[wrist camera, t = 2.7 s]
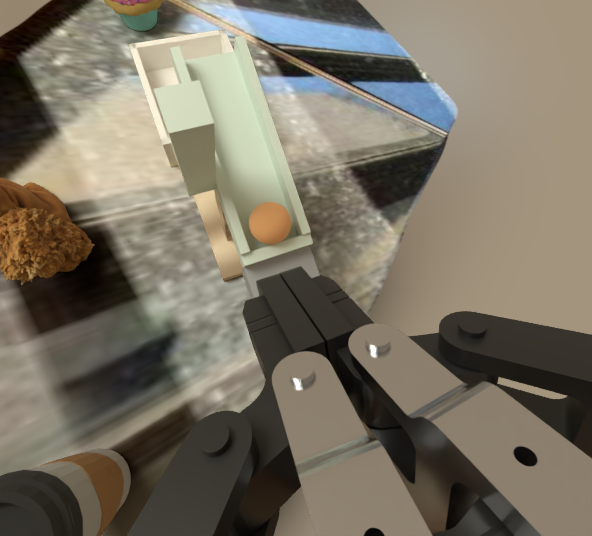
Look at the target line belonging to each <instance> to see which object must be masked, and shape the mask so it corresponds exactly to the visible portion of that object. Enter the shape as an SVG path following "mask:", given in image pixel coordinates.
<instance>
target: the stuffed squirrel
mask: <svg viewBox="0 0 592 536" xmlns="http://www.w3.org/2000/svg"><path fill="white" fill-rule="evenodd" d="M94 245H95V244H91V240H90V239H89V238H88V236H87V234H86V233H85V232H84V231H82V230H81V229H79V227H77V226H76V225H75V224H73V223H72V222H71V219H70V217H69V215H68V213H67V211H66V208H65V205H64V204H63V203H62V202H61V201H60V200H59V199H58V198H57V197H56V196H55V195H53V194H51V193H50V192H49V191H48V190H46V189H44V188H43V187H41V186H39V185H37V184H35V183H27V184H26V185H24V186H21V185H19V184H16V183H14V182H12V181H9V180H7V179H3V178H0V269H1V270H2V271H3V272H2V271H1V272H2V273H4V277H5V278H7V281H8V280H9V279H11V280H15V279H20V280H21V285H23V283H24V282H25V280H26V281H29V280H30V281H31V282H32V279H33V278H34V276H35V277H37V276H40V277H44V278H45V277H46V278H48V277H52V276H53V275H55V273H56V272H57V271H61V272H63V271H64V272H68V271H72V270H74V269H75V268H76V267H77V266H78V265H79V263H80V262H81V261H84V260H86V259H87V257H88V255H89V254H90V253H91V249H92V248H93V246H94Z"/></svg>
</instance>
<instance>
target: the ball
mask: <svg viewBox="0 0 592 536" xmlns="http://www.w3.org/2000/svg"><path fill="white" fill-rule="evenodd" d="M249 228H250V231H251V233H252V235H253V236H254V237H255V238H256V239H257V240H258V241H260V242H261V243H264V244H277V243H279V242H281V241H283V240H284V239H285V238H286V237H287V235H288V234H289V232H290V229H291V218H290V215H289V213H288V211H287V210H286V209H285V208H284V207H283V206H282V205H280V204H278V203H275V202H265V203H262V204H260V205H258V206H257V207H256V208H255V209H254V210H253V211H252V213H251V215H250V218H249Z"/></svg>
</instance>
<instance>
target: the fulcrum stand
mask: <svg viewBox="0 0 592 536" xmlns="http://www.w3.org/2000/svg"><path fill="white" fill-rule="evenodd" d="M194 198H195V201H196V204H197V207H198V209H199V212H200V215H201V218H202V221H203V224H204V226H205V229H206V232H207V235H208V238H209V241H210V243H211V246H212V249H213V252H214V255H215V258H216V261H217V263H218V266H219V269H220V272H221V275H222V278H223V280H224V281H226V280H229V279H232V278H235V277H238V276H241V275H243V274H242V271H241V269H242V268H243V267H242V264H241V261H240V259H239V256H238V253H237V250H236V247H235V244H234V241H233V238H232V235H231V233H230V230H229V227H228V224H227V221H226V218H225V215H224V212H223V209H222V206H221V204H220V201H219V198H218V195H217V192H216V189H215V190H211V191H207V192H203V193H200V194H196V195H194Z"/></svg>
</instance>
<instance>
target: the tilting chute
mask: <svg viewBox="0 0 592 536" xmlns="http://www.w3.org/2000/svg"><path fill="white" fill-rule="evenodd" d="M170 52H171V56H172V61H173V66H174V70H175V73H176V76H177V79H178V82H179V84H176V85H171V86H166V87H160V88H155V89H154V92H155V95H156V98H157V101H158V104H159V107H160V110H161V113H162V116H163V119H164V122H165V125H166V128H167V131H168V134H169V137H170V140H171V143H172V146H173V149H174V152H175V155H176V158H177V161H178V164H179V167H180V170H181V173H182V176H183V179H184V182H185V185H186V188H187V191H188V194H189V196H192V195H196V194H200V193H203V192H207V191H211V190H215V189H216V192H217V195H218V198H219V201H220V204H221V206H222V209H223V212H224V215H225V218H226V221H227V224H228V227H229V230H230V233H231V235H232V238H233V241H234V244H235V247H236V250H237V253H238V256H239V259H240V261H241V264H242V267H243V268H242V269H241V271H242V274H243V277H244V279H245V282H246V285H247V288H248V291H249V294H250V297H251V299H253V298H256V297H258V296H259V292H258V289H257V285H256V281H257V280H260V279H263V278H266V277H269V276H272V275H275V274H279V273H281V272H284V271H287V270H290V269H293V268H296V267H299V266H301V267H302V268H303V269H304V270H305V271H306V272H307V273H308V275H309V276H310V277H311V278H314V277H316V276H319V275H320V274H319V271H318V268H317V266H316V263H315V260H314V257H313V254H312V251H311V248H310V245H311V244H313V241H312V238H311V235H310V232H311V231H310V228H309V225H308V222H307V219H306V216H305V213H304V210H303V207H302V204H301V201H300V198H299V195H298V193H297V190H296V187H295V184H294V181H293V178H292V175H291V172H290V169H289V166H288V163H287V160H286V157H285V155H284V152H283V149H282V146H281V143H280V140H279V137H278V134H277V131H276V128H275V125H274V122H273V119H272V116H271V114H270V111H269V108H268V105H267V102H266V99H265V96H264V93H263V90H262V87H261V84H260V81H259V78H258V75H257V73H256V70H255V67H254V64H253V61H252V58H251V55H250V52H249V49H248V46H247V43H246V40H245V37H244V36H238V37H235V46H234V52H228V53H223V54H217V55H211V56H205V57H200V58H194V59H188V60H184V58H183V55H182V52H181V49H180V46H178V47H172V48H170ZM265 202H275V203H278V204H280V205H282V206H283V207H284V208H285V209H286V210H287V211H288V213H289V215H290V218H291V229H290V232H289V234H288V235H287V237H286V238H285V239H284V240H283V241H281V242H279V243H277V244H264V243H261V242H260V241H258V240H257V239H256V238H255V237H254V236H253V235H252V233H251V231H250V228H249V218H250V215H251V213H252V211H253V210H254V209H255V208H256V207H257V206H258V205H260V204H262V203H265Z"/></svg>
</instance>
